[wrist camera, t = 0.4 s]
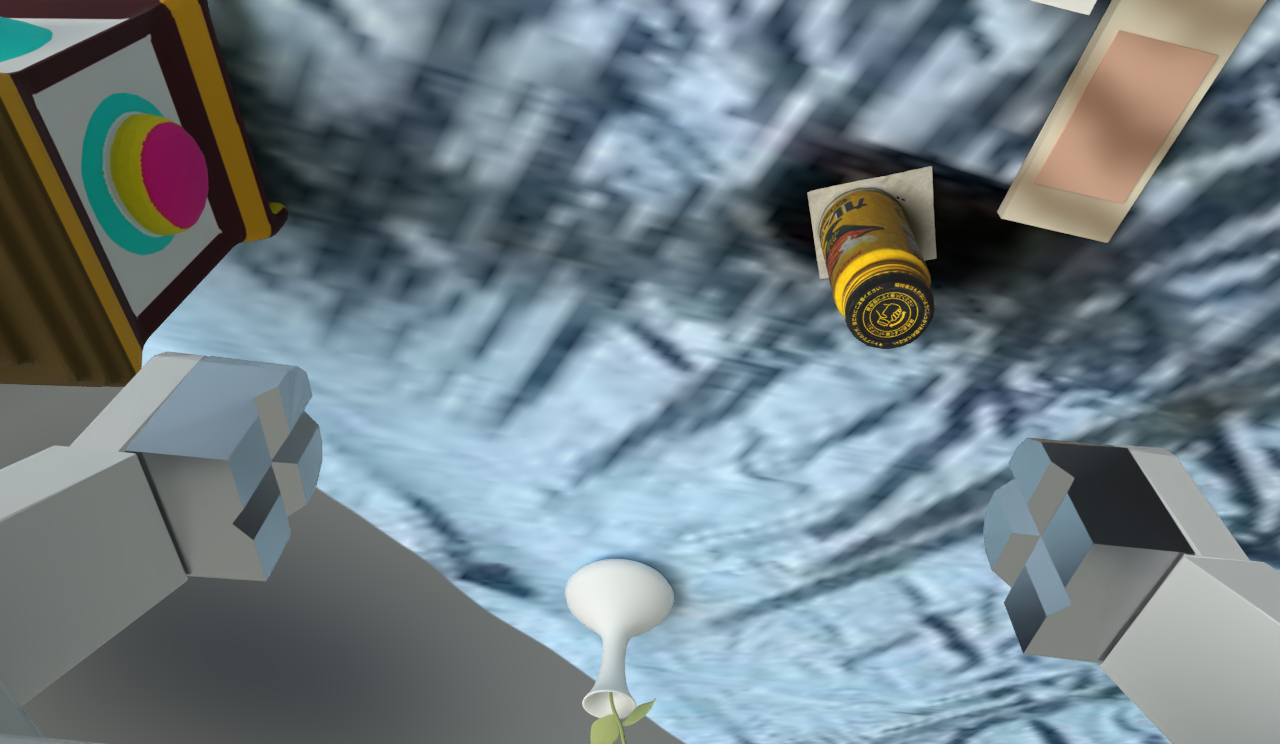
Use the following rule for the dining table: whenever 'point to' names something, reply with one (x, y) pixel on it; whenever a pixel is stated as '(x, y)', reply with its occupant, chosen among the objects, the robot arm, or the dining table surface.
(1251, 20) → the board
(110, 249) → the decorative lantern
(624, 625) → the flower in vase
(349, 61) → the dining table surface
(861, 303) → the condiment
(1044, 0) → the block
